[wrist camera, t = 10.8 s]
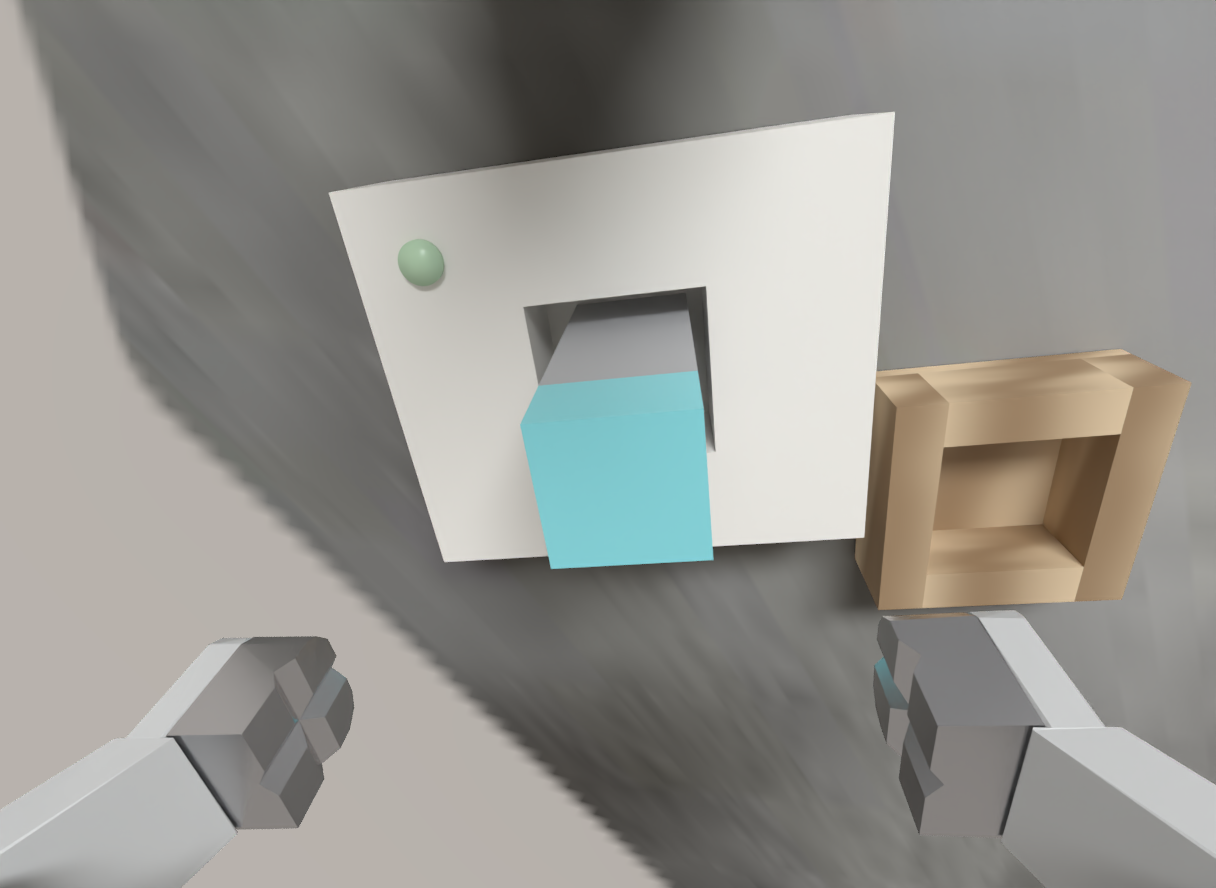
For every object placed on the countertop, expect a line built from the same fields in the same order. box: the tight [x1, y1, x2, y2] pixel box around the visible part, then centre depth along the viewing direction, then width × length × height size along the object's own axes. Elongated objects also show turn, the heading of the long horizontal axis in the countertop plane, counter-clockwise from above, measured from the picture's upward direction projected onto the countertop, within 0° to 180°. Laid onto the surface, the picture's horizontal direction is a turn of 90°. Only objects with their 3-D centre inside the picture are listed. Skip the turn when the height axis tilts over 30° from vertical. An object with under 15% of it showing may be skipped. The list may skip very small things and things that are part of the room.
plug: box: [520, 293, 713, 569], centre depth 16 cm, size 4×4×9 cm
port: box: [329, 112, 895, 562], centre depth 19 cm, size 14×12×4 cm
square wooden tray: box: [855, 349, 1191, 610], centre depth 21 cm, size 8×8×3 cm
